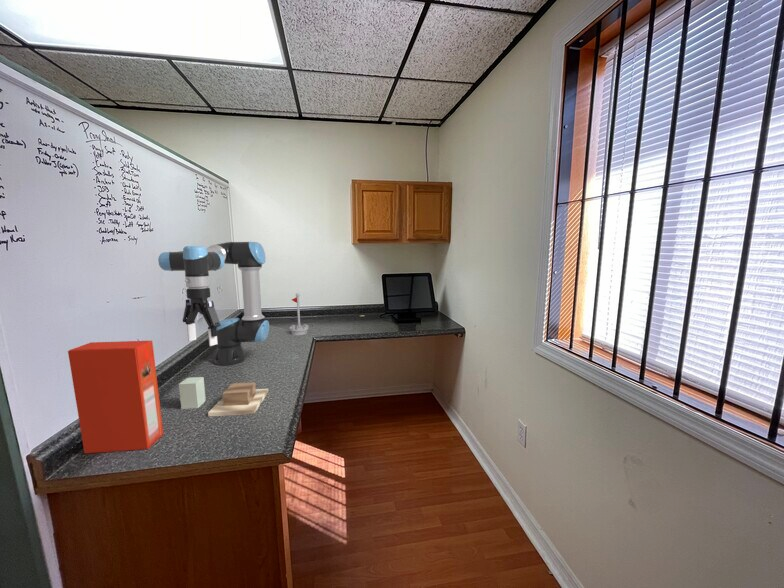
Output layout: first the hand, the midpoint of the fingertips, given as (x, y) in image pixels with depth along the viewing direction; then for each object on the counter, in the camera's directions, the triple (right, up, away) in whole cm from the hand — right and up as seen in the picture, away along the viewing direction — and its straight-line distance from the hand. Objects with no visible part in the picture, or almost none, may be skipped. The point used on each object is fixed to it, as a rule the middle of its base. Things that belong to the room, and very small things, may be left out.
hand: (202, 342), depth 117 cm
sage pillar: (-5, -25, +3) cm, 25 cm away
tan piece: (+13, -25, +4) cm, 28 cm away
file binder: (-10, -28, -22) cm, 37 cm away
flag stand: (+4, -11, +108) cm, 109 cm away
